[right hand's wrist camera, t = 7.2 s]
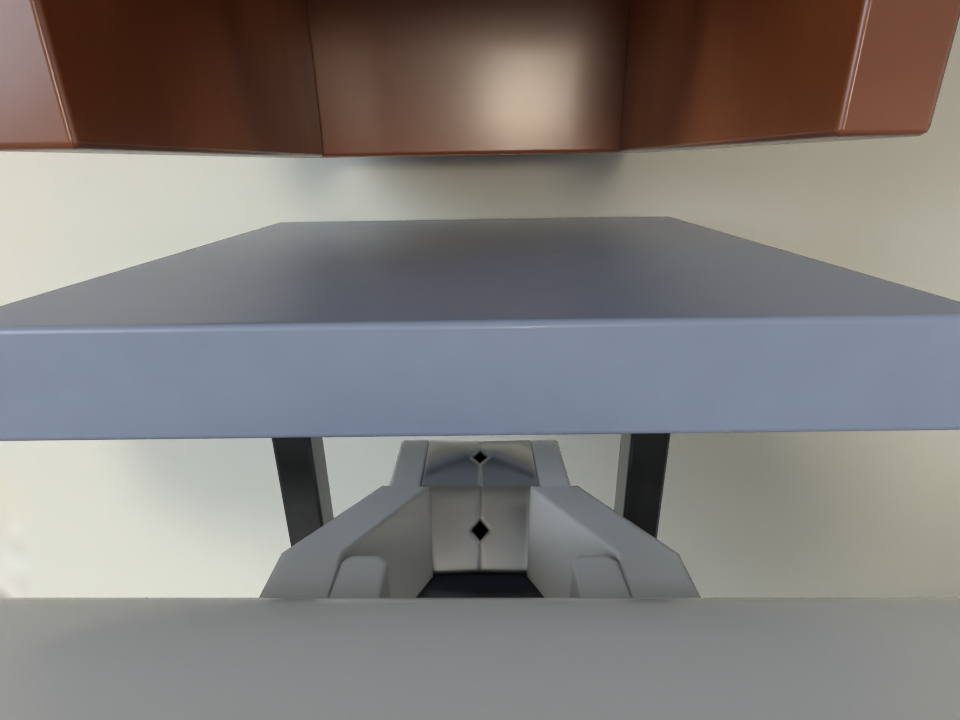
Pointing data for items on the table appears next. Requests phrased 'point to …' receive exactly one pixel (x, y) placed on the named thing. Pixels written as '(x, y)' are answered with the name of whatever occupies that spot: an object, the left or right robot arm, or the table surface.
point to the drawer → (471, 232)
